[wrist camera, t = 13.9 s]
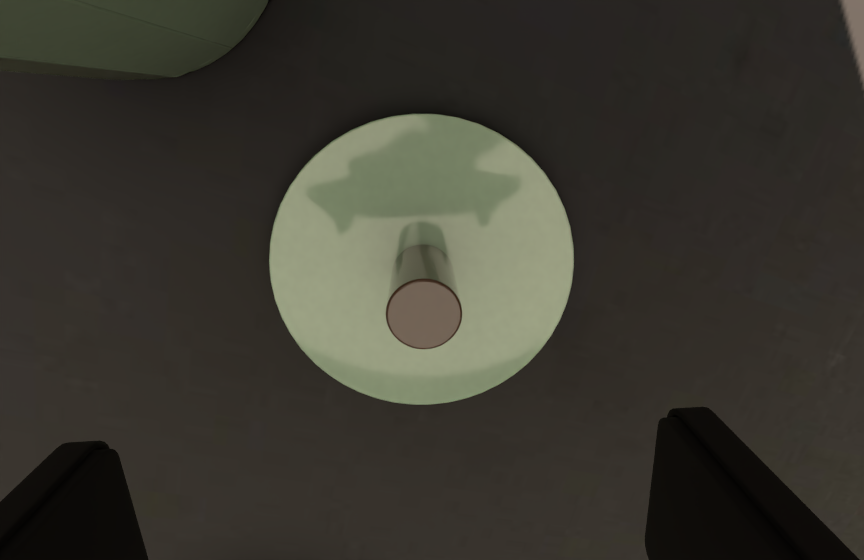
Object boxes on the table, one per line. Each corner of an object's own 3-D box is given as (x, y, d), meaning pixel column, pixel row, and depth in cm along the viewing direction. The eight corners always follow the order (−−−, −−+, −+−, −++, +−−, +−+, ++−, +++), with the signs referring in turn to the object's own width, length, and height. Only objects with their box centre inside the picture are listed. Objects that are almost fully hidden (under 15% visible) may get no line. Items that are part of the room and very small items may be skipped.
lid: (254, 120, 20) (195, 126, 15) (573, 105, 20) (628, 105, 15) (296, 398, 25) (262, 481, 19) (561, 384, 25) (601, 462, 19)
